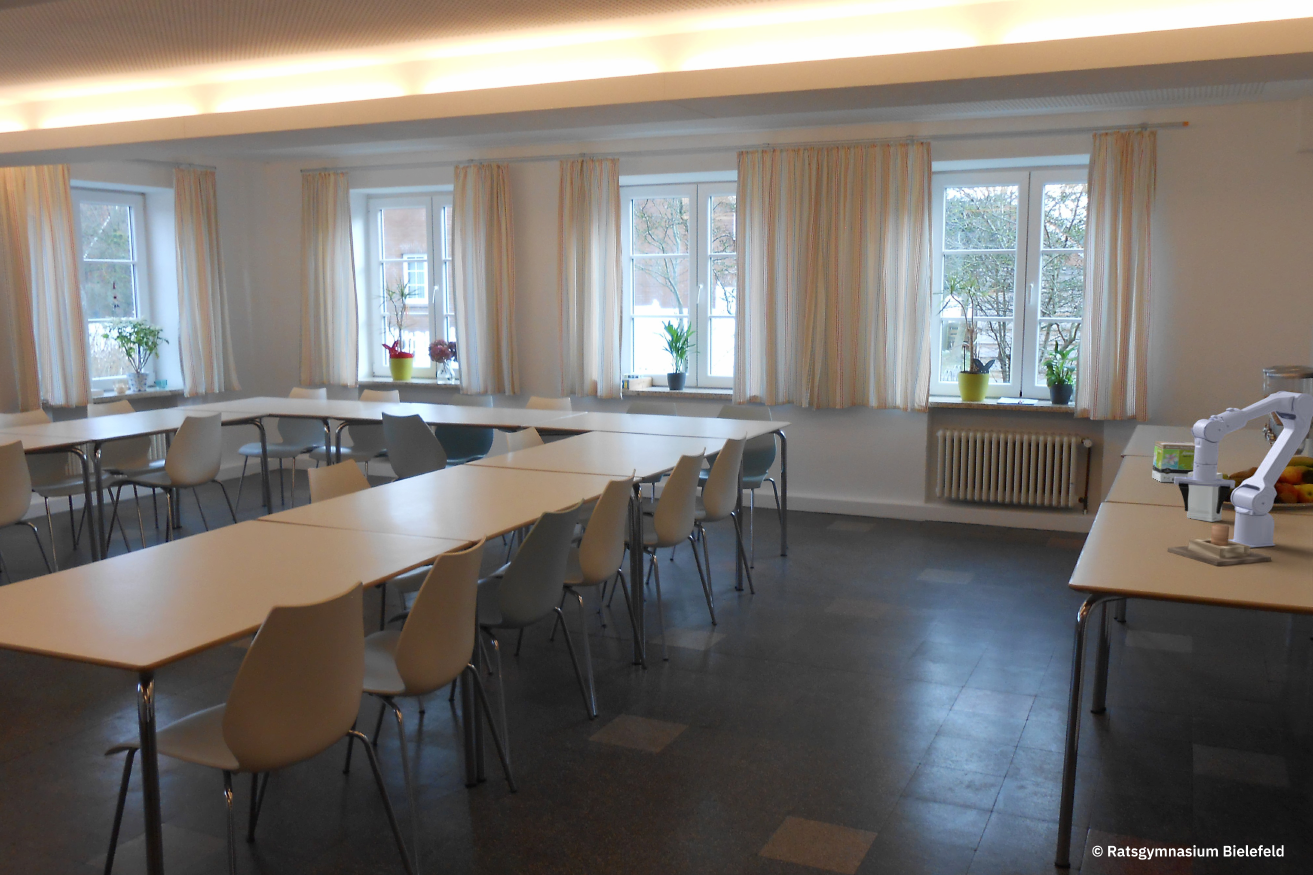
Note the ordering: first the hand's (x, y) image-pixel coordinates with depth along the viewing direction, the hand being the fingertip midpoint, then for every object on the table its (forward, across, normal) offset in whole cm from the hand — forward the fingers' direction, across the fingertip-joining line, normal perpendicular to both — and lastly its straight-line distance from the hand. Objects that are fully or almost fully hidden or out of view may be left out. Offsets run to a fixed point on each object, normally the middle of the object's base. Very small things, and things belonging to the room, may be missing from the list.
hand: (1202, 511), depth 275 cm
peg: (+8, -4, +12) cm, 15 cm away
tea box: (+10, 0, -114) cm, 114 cm away
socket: (+9, -4, +12) cm, 15 cm away
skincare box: (+10, -3, -40) cm, 41 cm away
